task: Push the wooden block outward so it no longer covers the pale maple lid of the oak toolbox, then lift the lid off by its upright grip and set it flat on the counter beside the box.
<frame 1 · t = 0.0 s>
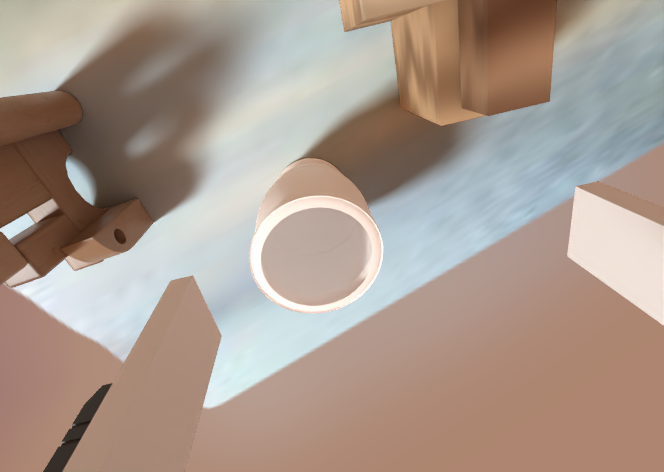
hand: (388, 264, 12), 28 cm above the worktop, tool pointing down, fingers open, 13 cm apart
wooden block: (503, 3, 21), point 14 cm above the worktop, slide at 0.0 cm
wooden toy: (90, 171, 37), on the worktop
jar: (310, 193, 40), on the worktop
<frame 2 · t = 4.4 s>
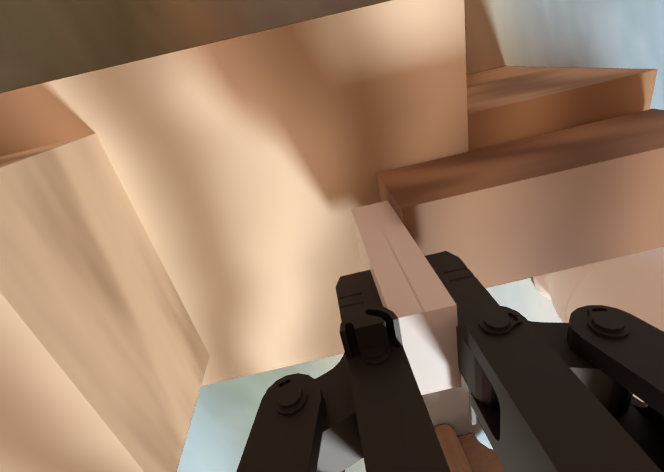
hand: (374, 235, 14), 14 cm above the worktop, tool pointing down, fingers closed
wooden block: (540, 200, 14), point 14 cm above the worktop, slide at 0.8 cm, touching gripper
lid: (201, 241, 17), point 10 cm above the worktop, touching toolbox
toolbox: (232, 180, 26), on the worktop
wooden toy: (490, 423, 43), on the worktop
jar: (572, 261, 33), on the worktop
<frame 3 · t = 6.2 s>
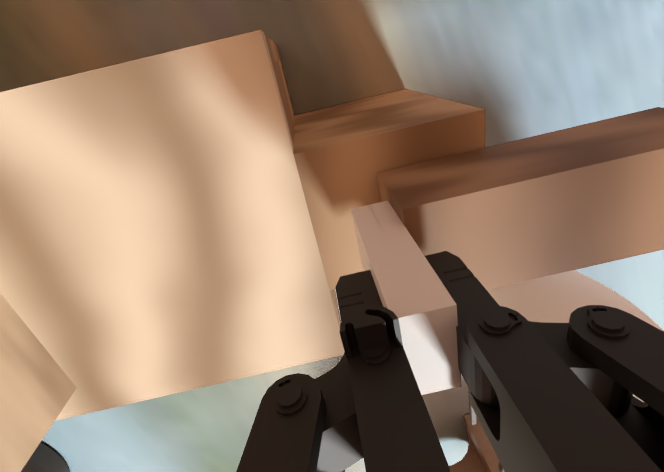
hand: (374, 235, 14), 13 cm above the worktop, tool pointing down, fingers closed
wooden block: (543, 201, 14), point 14 cm above the worktop, slide at 8.2 cm, touching gripper
lid: (57, 275, 17), point 10 cm above the worktop, touching toolbox
toolbox: (138, 202, 26), on the worktop
wooden toy: (433, 437, 43), on the worktop
jar: (499, 278, 33), on the worktop
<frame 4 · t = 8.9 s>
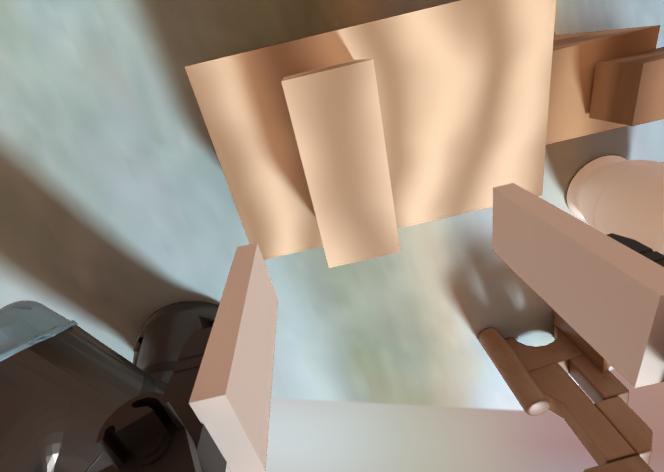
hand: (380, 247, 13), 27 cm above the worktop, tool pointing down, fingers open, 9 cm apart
lid: (381, 135, 29), point 10 cm above the worktop, touching toolbox
toolbox: (361, 117, 38), on the worktop
wooden toy: (526, 330, 54), on the worktop
jar: (596, 187, 44), on the worktop
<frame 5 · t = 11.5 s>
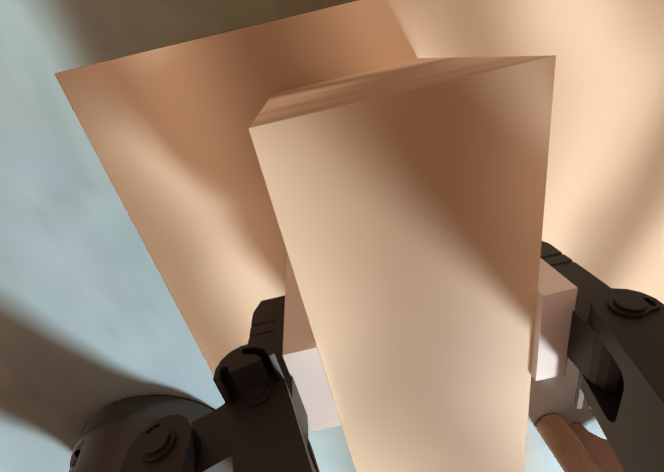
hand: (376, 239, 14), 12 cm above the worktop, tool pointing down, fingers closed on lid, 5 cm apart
lid: (452, 196, 16), point 10 cm above the worktop, touching gripper, toolbox
wooden toy: (598, 413, 42), on the worktop
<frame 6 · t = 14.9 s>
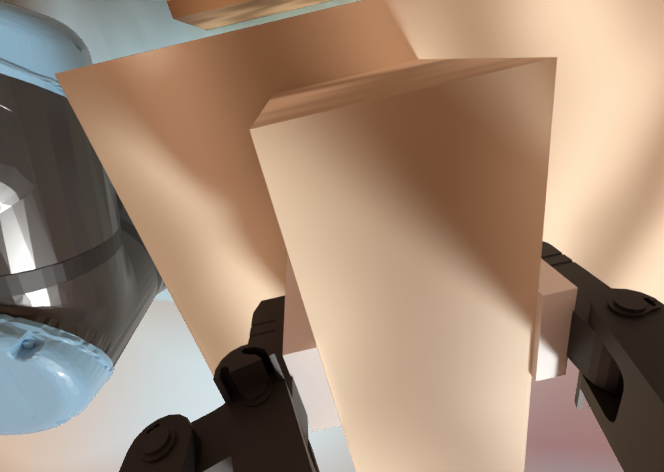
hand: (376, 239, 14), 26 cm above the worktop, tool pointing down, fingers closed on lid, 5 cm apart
lid: (452, 197, 16), point 24 cm above the worktop, touching gripper
when the fingers open (4 cm above the worktop, at t = 18.6 s): lid drops 3 cm, on the worktop.
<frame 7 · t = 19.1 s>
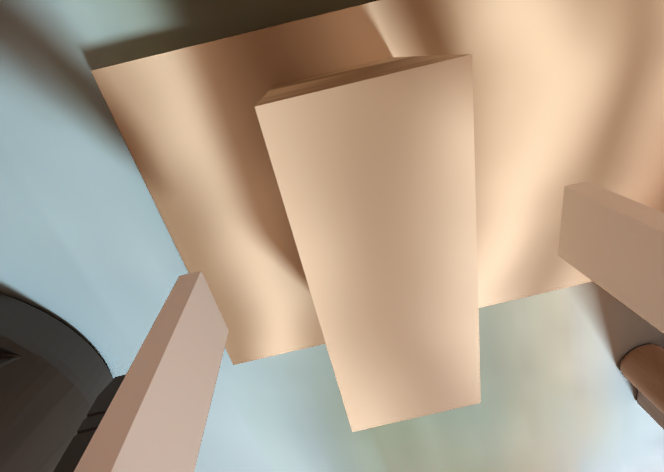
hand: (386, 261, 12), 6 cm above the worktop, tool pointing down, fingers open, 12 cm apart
lid: (429, 177, 18), on the worktop
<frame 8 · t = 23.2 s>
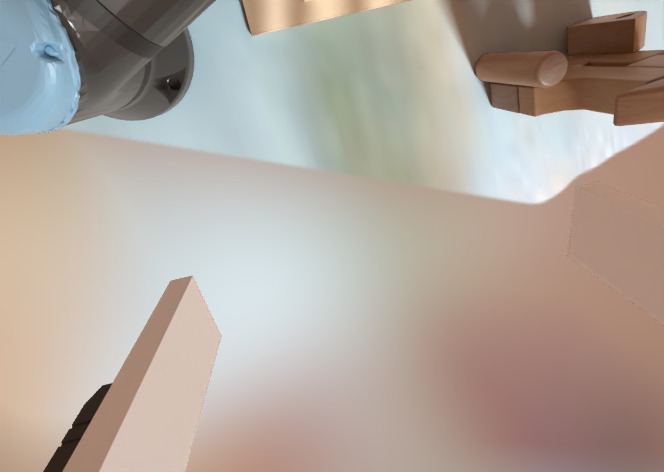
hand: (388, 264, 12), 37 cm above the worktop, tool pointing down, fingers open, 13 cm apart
wooden toy: (533, 65, 45), on the worktop
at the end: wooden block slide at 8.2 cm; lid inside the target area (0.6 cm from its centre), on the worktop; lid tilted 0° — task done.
